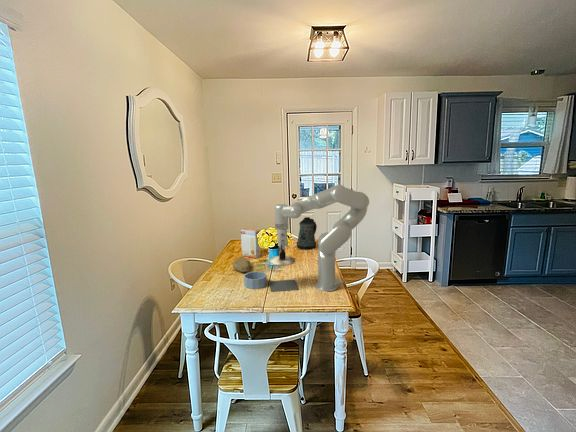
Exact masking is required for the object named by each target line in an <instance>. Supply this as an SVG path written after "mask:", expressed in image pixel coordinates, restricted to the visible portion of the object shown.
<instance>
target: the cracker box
mask: <svg viewBox="0 0 576 432" xmlns="http://www.w3.org/2000/svg"><path fill="white" fill-rule="evenodd" d="M259 232H260V233H261V231H260V229H254V228H253V229H252V228H243V229H242V228H241V230H240V233H241V234H240V242H241V257H244V258H249V259H251V258H252V259H258V258H261V245H260V246H259V244H258V239H257V234H258V233H259Z"/></svg>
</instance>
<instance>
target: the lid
mask: <svg viewBox="0 0 576 432" xmlns="http://www.w3.org/2000/svg"><path fill="white" fill-rule="evenodd" d="M285 257H286V258H285V259H280V251H279V250H278V255H276V256H272V257H270V258H269V259H268V263H269V264H270V265H272V266H273V265H274V266H278V267H279V266H282V267H283V266H291V265H293V264H296V258H294V257H292V256H289V255H285Z"/></svg>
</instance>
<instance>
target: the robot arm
mask: <svg viewBox="0 0 576 432" xmlns="http://www.w3.org/2000/svg"><path fill="white" fill-rule="evenodd" d="M335 203H339V204H342V205H344V206H347V207H350V209H349V211H348V212H346V214H344V215H343V216H342V217H341V218H340V219H339V220H337V221H336V222H335V223H334V224H333V227H332V229H331V230H330V231H329V232H324V233H321V234H320V235H319V237H318V240H317V244H318V245H317V246H318V249H317V251H318V252H317V253H318V254H317V255H318V256H317V257H318V260H317V263H318V264H317V267H318V269H317V272H318V273H317V275H318V276H317V283H315V288H316V289H317V290H319V291H322V292H333V291H334V292H335V291H337V290H338V286H339V285H344V280H340V279H336V251H337V250H339V249H340V248H341V247H342V246H343V245H344V244H346V242H348V240H349V239H350V238H351V236H352V231H353V230H354V229H355V228H356V227H358V225H359V224H360V223H361V222H362V221H363V220H364V218H365V216H366V215H367V212H368V206H369V204H370V199H369V197H368V196H367V194H366V193H364V192H363V191H356V190H352V189H351V188H349V187H345V186H344V185H343V184H337V185H334V186H332V187H329V188H327V189H324V190H322V191H319V192H317V193H315V194H314V193H313V194H311V195H310V196H307V197H304V198H302V199H300V200H298V201H296V202H294V203H292V204H290V205H288V204H286V203H279V204H276V205H274V229H275V231H276V234H277V235H276V236H277V239H276V240H277V245H278V252H279V251H280V259H285V258H286V257H285V256H286V248H287V247H289V245H288V243H289V242H288V230H289V219H298V218H300V217H301V216H302V214H305V213H307V212H309V211H311V210H317V209H323V208H325V207H328V206H331V205H333V204H335Z"/></svg>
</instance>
